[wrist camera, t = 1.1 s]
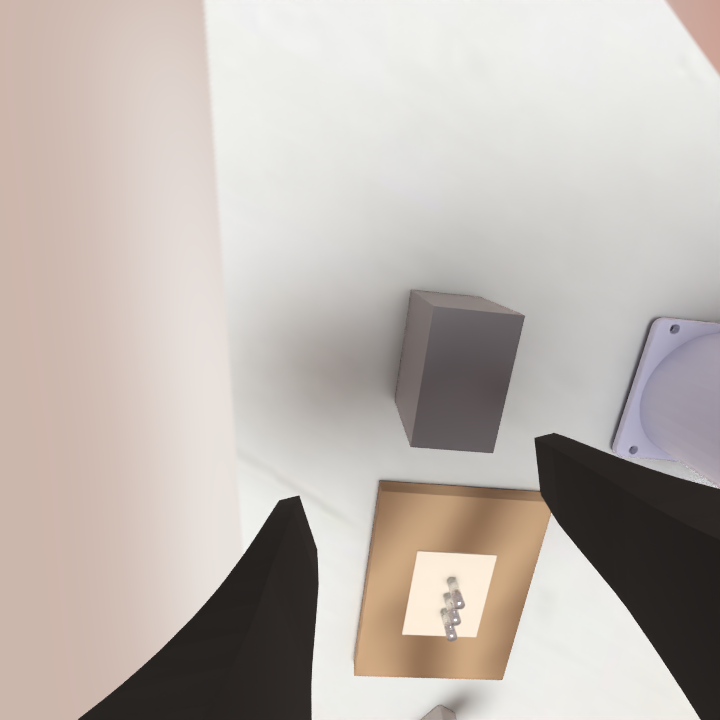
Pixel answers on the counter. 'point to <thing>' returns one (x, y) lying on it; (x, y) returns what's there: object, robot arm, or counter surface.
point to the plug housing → (455, 370)
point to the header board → (447, 580)
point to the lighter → (440, 714)
